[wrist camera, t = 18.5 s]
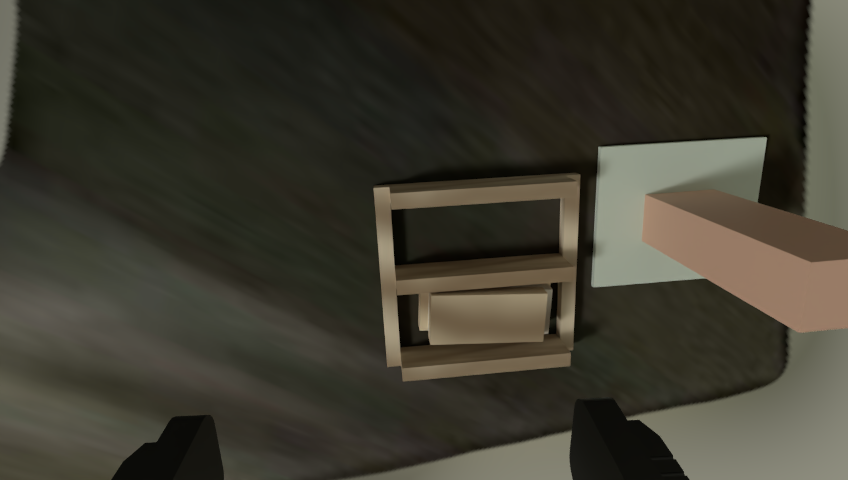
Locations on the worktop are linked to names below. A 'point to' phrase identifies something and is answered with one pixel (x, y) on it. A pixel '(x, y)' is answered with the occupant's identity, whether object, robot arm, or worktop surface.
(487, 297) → the plywood offcut stack
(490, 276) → the birch rack
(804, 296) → the peach upright pillar
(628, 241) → the sage mat
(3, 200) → the worktop surface
